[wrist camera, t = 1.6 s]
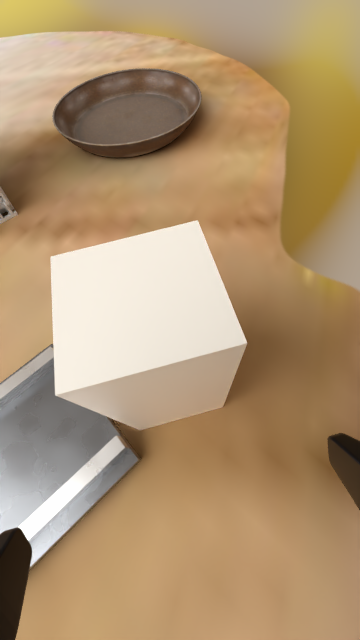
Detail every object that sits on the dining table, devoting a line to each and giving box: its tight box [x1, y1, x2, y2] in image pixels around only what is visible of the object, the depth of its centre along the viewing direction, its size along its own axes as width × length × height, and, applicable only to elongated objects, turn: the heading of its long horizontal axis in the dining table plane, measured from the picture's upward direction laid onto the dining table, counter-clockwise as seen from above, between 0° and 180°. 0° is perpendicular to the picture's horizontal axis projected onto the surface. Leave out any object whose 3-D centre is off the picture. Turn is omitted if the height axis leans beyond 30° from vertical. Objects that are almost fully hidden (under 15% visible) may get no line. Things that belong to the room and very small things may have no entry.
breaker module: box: [51, 220, 247, 430], centre depth 16 cm, size 7×6×13 cm
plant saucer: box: [53, 69, 201, 157], centre depth 38 cm, size 21×21×3 cm
